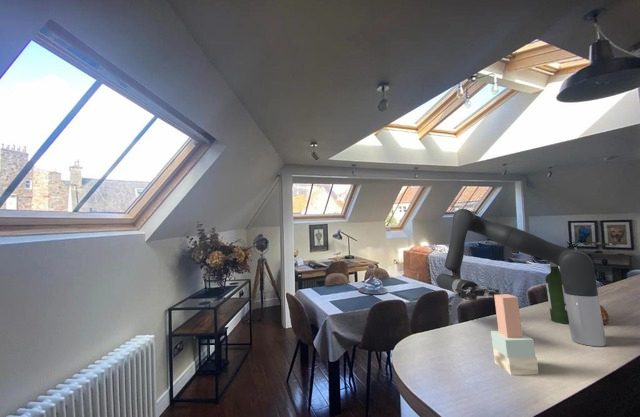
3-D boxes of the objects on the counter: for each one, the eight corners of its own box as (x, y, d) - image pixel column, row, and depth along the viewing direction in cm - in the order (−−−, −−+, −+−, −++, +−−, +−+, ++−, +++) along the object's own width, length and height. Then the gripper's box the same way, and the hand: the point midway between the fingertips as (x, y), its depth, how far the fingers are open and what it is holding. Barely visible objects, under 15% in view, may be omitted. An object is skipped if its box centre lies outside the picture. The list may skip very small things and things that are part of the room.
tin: (611, 326, 112) (607, 306, 113) (602, 326, 113) (599, 306, 114) (584, 316, 127) (581, 298, 128) (576, 316, 127) (573, 298, 128)
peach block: (498, 332, 87) (494, 294, 88) (512, 332, 87) (508, 294, 88) (507, 337, 82) (502, 297, 84) (522, 337, 82) (517, 297, 83)
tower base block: (494, 363, 87) (492, 347, 88) (520, 362, 87) (517, 346, 88) (511, 375, 79) (508, 358, 80) (538, 374, 79) (536, 357, 80)
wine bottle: (576, 325, 116) (565, 255, 119) (553, 323, 120) (543, 255, 123) (572, 319, 122) (561, 253, 126) (549, 318, 127) (540, 254, 130)
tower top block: (492, 346, 88) (490, 331, 89) (518, 346, 87) (516, 330, 88) (507, 357, 80) (505, 340, 81) (535, 357, 80) (533, 339, 80)
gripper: (447, 280, 113) (466, 287, 97) (481, 278, 113) (506, 285, 97) (449, 298, 112) (468, 308, 96) (483, 296, 112) (509, 306, 96)
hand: (487, 297), depth 96 cm, fingers open, 8 cm apart
